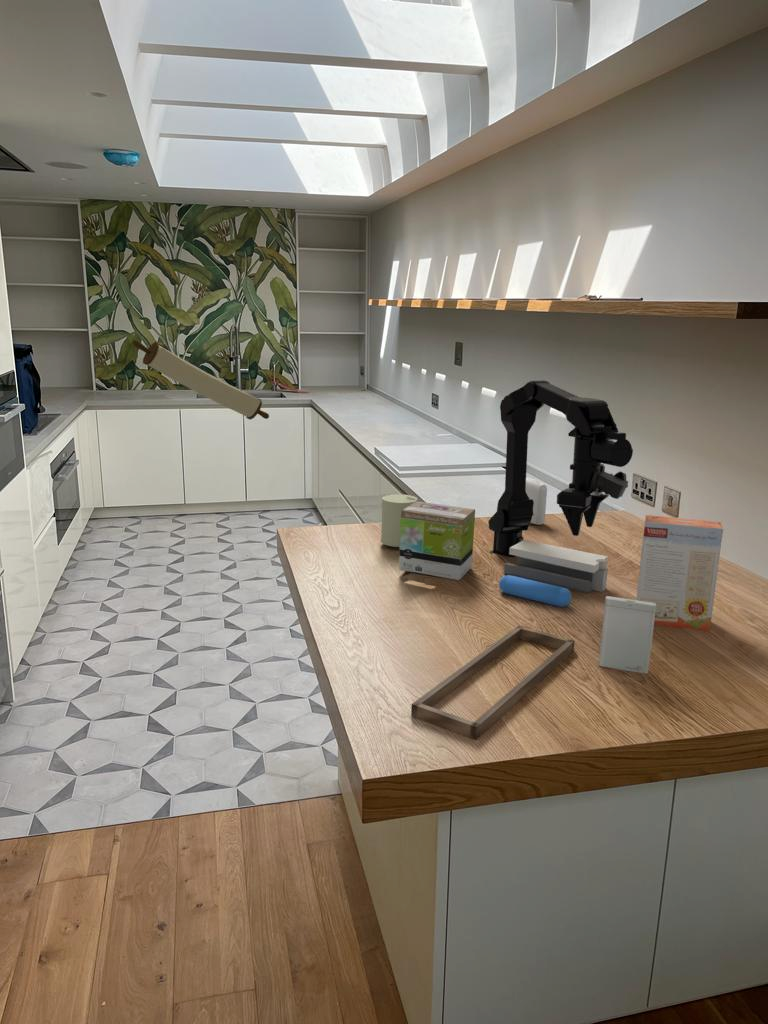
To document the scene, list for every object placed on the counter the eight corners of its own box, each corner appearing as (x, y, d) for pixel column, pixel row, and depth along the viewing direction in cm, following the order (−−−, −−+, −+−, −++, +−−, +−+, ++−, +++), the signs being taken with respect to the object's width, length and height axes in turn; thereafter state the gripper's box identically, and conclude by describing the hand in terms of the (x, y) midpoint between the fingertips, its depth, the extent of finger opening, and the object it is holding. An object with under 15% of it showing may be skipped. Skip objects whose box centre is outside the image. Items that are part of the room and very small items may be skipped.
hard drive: (647, 674, 133) (656, 606, 130) (598, 666, 136) (605, 598, 133) (648, 670, 135) (656, 602, 131) (599, 662, 137) (606, 595, 134)
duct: (504, 574, 181) (505, 554, 180) (518, 565, 187) (519, 546, 186) (597, 595, 169) (599, 574, 168) (609, 585, 175) (611, 565, 174)
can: (416, 547, 199) (418, 501, 196) (380, 546, 199) (381, 500, 196) (415, 536, 208) (417, 492, 205) (380, 536, 208) (381, 491, 205)
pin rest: (411, 716, 118) (411, 704, 118) (517, 635, 148) (518, 625, 147) (476, 739, 112) (476, 727, 112) (573, 650, 142) (574, 640, 141)
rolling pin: (124, 348, 154) (126, 358, 150) (139, 325, 152) (141, 334, 148) (259, 422, 172) (264, 433, 168) (273, 402, 170) (278, 412, 167)
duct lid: (509, 554, 179) (509, 547, 179) (523, 546, 185) (524, 539, 185) (599, 573, 167) (600, 566, 167) (612, 564, 174) (612, 557, 173)
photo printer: (509, 518, 228) (512, 476, 225) (519, 515, 231) (522, 474, 228) (537, 526, 220) (540, 483, 217) (546, 523, 223) (550, 481, 220)
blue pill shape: (495, 593, 169) (496, 576, 168) (503, 588, 172) (504, 571, 171) (566, 611, 160) (567, 592, 159) (573, 605, 163) (575, 587, 162)
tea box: (397, 571, 181) (399, 509, 177) (412, 559, 190) (414, 499, 186) (460, 581, 176) (463, 517, 172) (472, 568, 185) (476, 507, 181)
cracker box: (708, 622, 156) (722, 520, 151) (709, 633, 151) (724, 528, 145) (634, 611, 160) (645, 512, 155) (633, 622, 155) (645, 520, 149)
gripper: (612, 469, 155) (606, 546, 159) (637, 457, 171) (632, 527, 174) (557, 464, 161) (553, 538, 164) (587, 453, 176) (582, 520, 180)
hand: (582, 531), depth 171 cm, fingers open, 9 cm apart
